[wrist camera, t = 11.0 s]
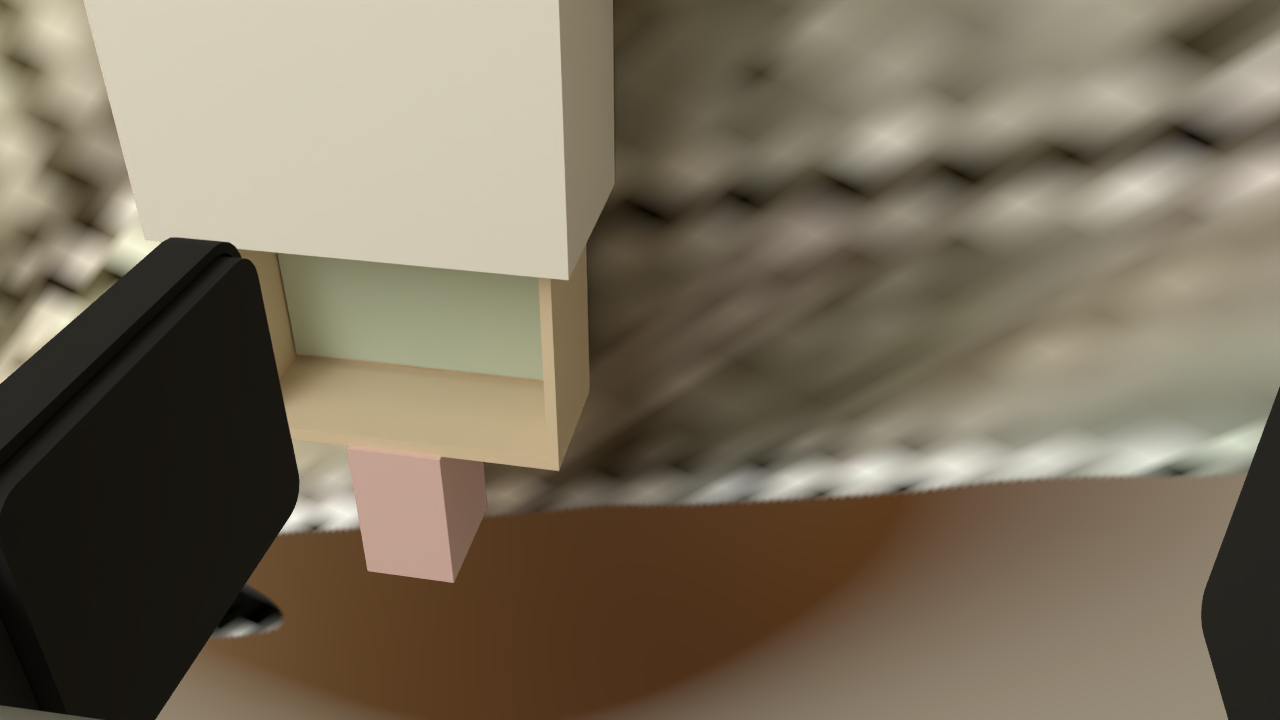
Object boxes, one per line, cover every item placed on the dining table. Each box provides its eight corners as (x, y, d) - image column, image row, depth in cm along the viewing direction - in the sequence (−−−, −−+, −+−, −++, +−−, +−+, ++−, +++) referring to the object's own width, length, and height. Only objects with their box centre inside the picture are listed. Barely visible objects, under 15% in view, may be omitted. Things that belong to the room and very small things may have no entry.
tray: (210, -85, 38) (122, -45, 33) (578, -68, 36) (534, -22, 32) (317, 474, 50) (263, 556, 46) (593, 509, 49) (563, 597, 44)
